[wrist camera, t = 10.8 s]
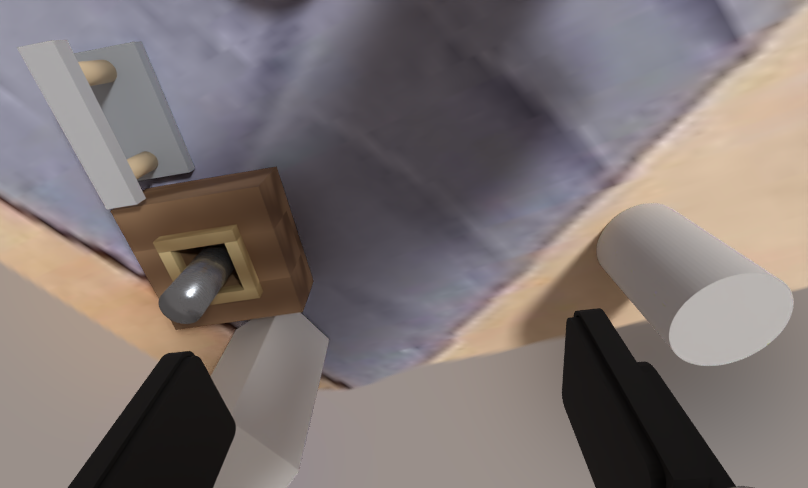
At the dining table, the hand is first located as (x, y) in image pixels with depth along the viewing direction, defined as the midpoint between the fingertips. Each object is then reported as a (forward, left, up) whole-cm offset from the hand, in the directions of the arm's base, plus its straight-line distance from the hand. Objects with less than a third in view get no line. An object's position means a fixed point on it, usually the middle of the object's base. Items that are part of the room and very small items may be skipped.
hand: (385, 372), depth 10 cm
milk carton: (+19, -16, -27) cm, 36 cm away
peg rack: (-5, -21, -27) cm, 34 cm away
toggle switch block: (+7, -17, -27) cm, 32 cm away
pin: (+7, -17, -26) cm, 31 cm away
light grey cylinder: (+14, +21, -27) cm, 37 cm away
